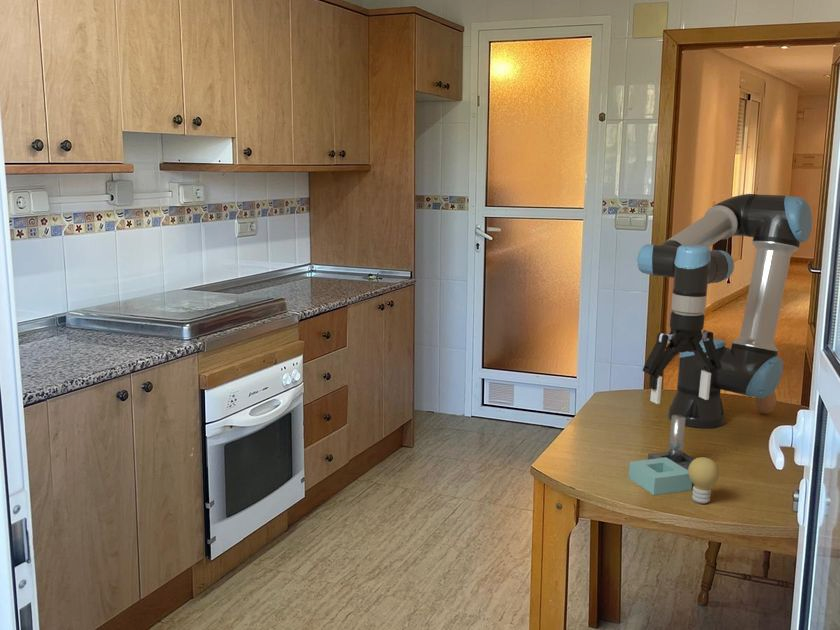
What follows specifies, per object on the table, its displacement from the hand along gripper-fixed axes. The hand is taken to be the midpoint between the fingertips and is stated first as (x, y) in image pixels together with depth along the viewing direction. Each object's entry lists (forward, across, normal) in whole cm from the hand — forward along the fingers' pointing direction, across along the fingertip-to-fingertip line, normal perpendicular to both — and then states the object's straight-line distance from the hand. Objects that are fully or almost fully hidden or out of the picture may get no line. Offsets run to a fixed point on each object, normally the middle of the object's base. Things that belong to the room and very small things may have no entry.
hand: (679, 400), depth 198 cm
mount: (+17, 0, 0) cm, 17 cm away
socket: (+17, +9, +7) cm, 20 cm away
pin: (+17, 0, 0) cm, 17 cm away
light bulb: (+18, +5, +18) cm, 25 cm away
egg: (+17, -51, -28) cm, 61 cm away
